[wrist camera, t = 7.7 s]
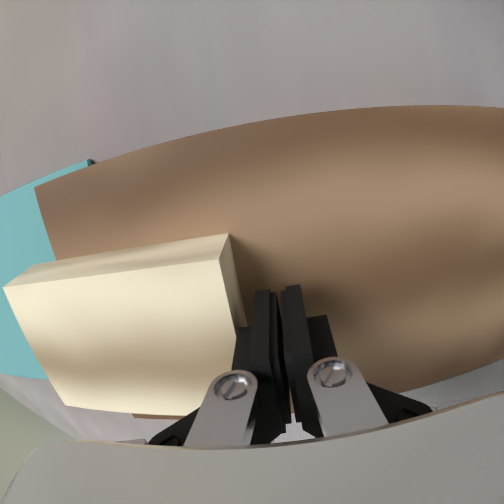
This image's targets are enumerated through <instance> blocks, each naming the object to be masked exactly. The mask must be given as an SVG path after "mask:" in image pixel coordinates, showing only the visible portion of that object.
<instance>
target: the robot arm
mask: <svg viewBox="0 0 504 504" xmlns="http://www.w3.org/2000/svg"><path fill="white" fill-rule="evenodd" d="M281 309H282V320H281V314H280V309H279V303H278V298H277V293H276V292H271V291H270V289H266V290H259V291H255V297H254V308H253V319H252V326H247V327H239V328H238V330H237V336H236V343H235V349H234V355H233V362H232V368H231V371H228V372H225V373H223V374H221V375H219V376H217V377H216V378H215V379H214V380H213V381H212V382H211V384H210V386H209V388H208V390H207V393H206V395H205V397H204V399H203V402H202V404H201V406H200V407H199V408H197V409H196V410H194V411H193V412H191V413H190V414H188V415H187V416H185V417H184V418H182V419H180V420H179V421H177V422H176V423H174V424H173V425H171V426H169V427H168V428H166V429H165V430H163V431H161V432H160V433H158V434H157V435H155V436H154V437H153V438H152V439H151V440H150V441H149V442H146V440H145V439H138V440H129V441H119V442H107V441H96V440H65V441H59V442H53V443H49V444H46V445H43V446H40V447H38V448H37V449H35V450H34V451H33V452H32V453H31V454H30V455H29V456H28V457H27V458H26V460H25V461H24V462H23V464H22V465H21V467H20V468H19V470H18V471H17V473H16V474H15V476H14V478H13V480H12V481H11V483H10V485H9V487H8V489H7V491H6V493H5V494H4V496H3V498H2V500H1V502H0V504H504V391H503V392H498V393H492V394H489V395H485V396H482V397H477V398H471V399H465V400H458V401H452V402H444V403H437V406H436V407H432V408H430V407H429V406H428V405H426V404H424V403H422V402H419V401H416V400H413V399H411V398H408V397H405V396H402V395H400V394H397V393H394V392H391V391H389V390H386V389H384V388H381V387H378V386H376V385H373V384H371V383H368V382H365V380H364V378H363V376H362V375H361V373H360V371H359V369H358V368H357V366H356V365H355V364H354V362H352V361H351V360H349V359H347V358H343V357H338V355H337V351H336V347H335V343H334V340H333V336H332V332H331V329H330V325H329V321H328V318H327V315H326V314H325V315H319V316H313V317H307V318H306V313H305V308H304V302H303V297H302V291H301V286H300V284H297V285H291V286H286V290H284V291H281ZM290 391H291V397H292V402H293V407H294V413H295V418H296V423H297V422H302V428H303V430H304V431H306V432H308V433H309V434H311V435H313V436H315V438H314V439H307V440H299V441H291V442H282V443H275V442H274V439H275V438H277V437H278V436H279V435H280V434H281V433H286V424H289V423H291V402H290Z"/></svg>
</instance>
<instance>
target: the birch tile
mask: <svg viewBox="0 0 504 504" xmlns="http://www.w3.org/2000/svg"><path fill="white" fill-rule="evenodd" d="M3 289H4V292H5V294H6V297H7V299H8V301H9V304H10V306H11V308H12V310H13V312H14V315H15V317H16V319H17V321H18V323H19V325H20V327H21V329H22V331H23V333H24V335H25V337H26V339H27V341H28V343H29V345H30V347H31V349H32V351H33V352H34V354H35V356H36V358H37V360H38V361H39V363H40V365H41V367H42V368H43V370H44V372H45V373H46V375H47V377H48V378H49V380H50V382H51V383H52V385H53V387H54V388H55V390H56V391H57V393H58V394H59V396H60V397H61V399H62V400H63V402H64V403H65V405H68V406H74V407H81V408H88V409H96V410H104V411H114V412H124V413H136V414H152V415H177V416H187V415H188V414H190V413H191V412H193V411H194V410H196V409H197V408H199V407H200V406H201V404H202V402H203V399H204V397H205V395H206V393H207V390H208V388H209V386H210V384H211V382H212V381H213V380H214V379H215V378H216V377H217V376H219V375H221V374H223V373H225V372H228V371H231V368H232V362H233V355H234V349H235V343H236V336H237V330H238V328H239V327H247V322H246V318H245V313H244V308H243V303H242V298H241V293H240V288H239V283H238V278H237V273H236V268H235V263H234V258H233V253H232V248H231V243H230V238H229V233H227V234H220V235H213V236H206V237H199V238H193V239H186V240H179V241H173V242H166V243H160V244H154V245H147V246H141V247H135V248H129V249H122V250H116V251H110V252H104V253H98V254H92V255H86V256H80V257H75V258H69V259H63V260H57V261H51V262H46V263H40V264H35V265H32V266H31V267H29V268H28V269H27V270H25V271H24V272H22V273H21V274H20V275H18V276H17V277H16V278H14V279H13V280H12V281H10V282H9V283H8V284H6V285H5V286H4V287H3Z"/></svg>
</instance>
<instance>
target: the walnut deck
mask: <svg viewBox="0 0 504 504" xmlns="http://www.w3.org/2000/svg"><path fill="white" fill-rule="evenodd" d="M34 190H35V194H36V198H37V201H38V205H39V209H40V212H41V216H42V219H43V222H44V225H45V229H46V232H47V235H48V238H49V241H50V244H51V247H52V250H53V253H54V255H55V258H56V261H57V260H63V259H69V258H75V257H80V256H86V255H92V254H98V253H104V252H110V251H116V250H122V249H129V248H135V247H141V246H147V245H154V244H160V243H166V242H173V241H179V240H186V239H193V238H199V237H206V236H213V235H220V234H227V233H229V238H230V243H231V248H232V253H233V258H234V263H235V268H236V273H237V278H238V283H239V288H240V293H241V298H242V303H243V308H244V313H245V318H246V322H247V326H252V319H253V308H254V297H255V291H259V290H266V289H270V291H271V292H276V293H277V298H278V303H279V309H280V314H281V320H282V309H281V291H284V290H286V286H291V285H297V284H300V286H301V291H302V297H303V302H304V308H305V313H306V318H307V317H313V316H319V315H325V314H326V315H327V318H328V321H329V325H330V329H331V332H332V336H333V340H334V343H335V347H336V351H337V355H338V357H343V358H347V359H349V360H351V361H352V362H354V364H355V365H356V366H357V368H358V369H359V371H360V373H361V375H362V376H363V378H364V380H365V382H368V383H371V384H373V385H376V386H378V387H381V388H384V389H386V390H389V391H391V392H394V393H401V392H405V391H409V390H413V389H416V388H420V387H423V386H427V385H430V384H433V383H437V382H440V381H443V380H446V379H449V378H452V377H455V376H458V375H461V374H464V373H467V372H469V371H472V370H475V369H478V368H480V367H483V366H485V365H488V364H491V363H493V362H496V361H498V360H500V359H503V358H504V108H497V107H481V106H453V105H419V106H390V107H373V108H359V109H348V110H338V111H328V112H320V113H312V114H304V115H297V116H290V117H283V118H277V119H271V120H265V121H259V122H254V123H248V124H243V125H238V126H233V127H228V128H223V129H218V130H214V131H209V132H205V133H201V134H196V135H192V136H188V137H184V138H180V139H176V140H172V141H169V142H165V143H161V144H157V145H154V146H150V147H147V148H143V149H140V150H137V151H133V152H130V153H127V154H123V155H120V156H117V157H114V158H111V159H108V160H105V161H102V162H99V163H96V164H93V165H90V166H87V167H85V168H82V169H79V170H76V171H74V172H71V173H68V174H66V175H63V176H60V177H58V178H55V179H53V180H50V181H48V182H45V183H43V184H40V185H38V186H36V187H34ZM290 402H291V413H294V407H293V402H292V397H291V391H290ZM132 415H133V416H134V418H146V419H182V418H184V417H185V416H177V415H152V414H136V413H132Z"/></svg>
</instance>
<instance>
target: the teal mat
mask: <svg viewBox="0 0 504 504" xmlns="http://www.w3.org/2000/svg"><path fill="white" fill-rule="evenodd" d="M90 165H92V164H91V160H90V159H89V160H85V161H82V162H80V163H77V164H74V165H72V166H69V167H67V168H64V169H62V170H59V171H57V172H54V173H52V174H49V175H47V176H44V177H42V178H40V179H37V180H35V181H33V182H31V183H28V184H26V185H24V186H22V187H19V188H17V189H15V190H13V191H11V192H9V193H7V194H5V195H3V196H1V197H0V371H1V372H2V374H7V375H13V376H20V377H28V378H36V379H45V380H49V378H48V377H47V375H46V373H45V372H44V370H43V368H42V367H41V365H40V363H39V361H38V360H37V358H36V356H35V354H34V352H33V351H32V349H31V347H30V345H29V343H28V341H27V339H26V337H25V335H24V333H23V331H22V329H21V327H20V325H19V323H18V321H17V319H16V317H15V315H14V312H13V310H12V308H11V306H10V304H9V301H8V299H7V297H6V294H5V292H4V289H3V287H4V286H5V285H6V284H8V283H9V282H10V281H12V280H13V279H14V278H16V277H17V276H18V275H20V274H21V273H22V272H24V271H25V270H27V269H28V268H29V267H31V266H32V265H35V264H40V263H46V262H51V261H56V258H55V255H54V253H53V250H52V247H51V244H50V241H49V238H48V235H47V232H46V229H45V225H44V222H43V219H42V216H41V212H40V209H39V205H38V201H37V198H36V194H35V190H34V187H36V186H38V185H40V184H43V183H45V182H48V181H50V180H53V179H55V178H58V177H60V176H63V175H66V174H68V173H71V172H74V171H76V170H79V169H82V168H85V167H87V166H90Z"/></svg>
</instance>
